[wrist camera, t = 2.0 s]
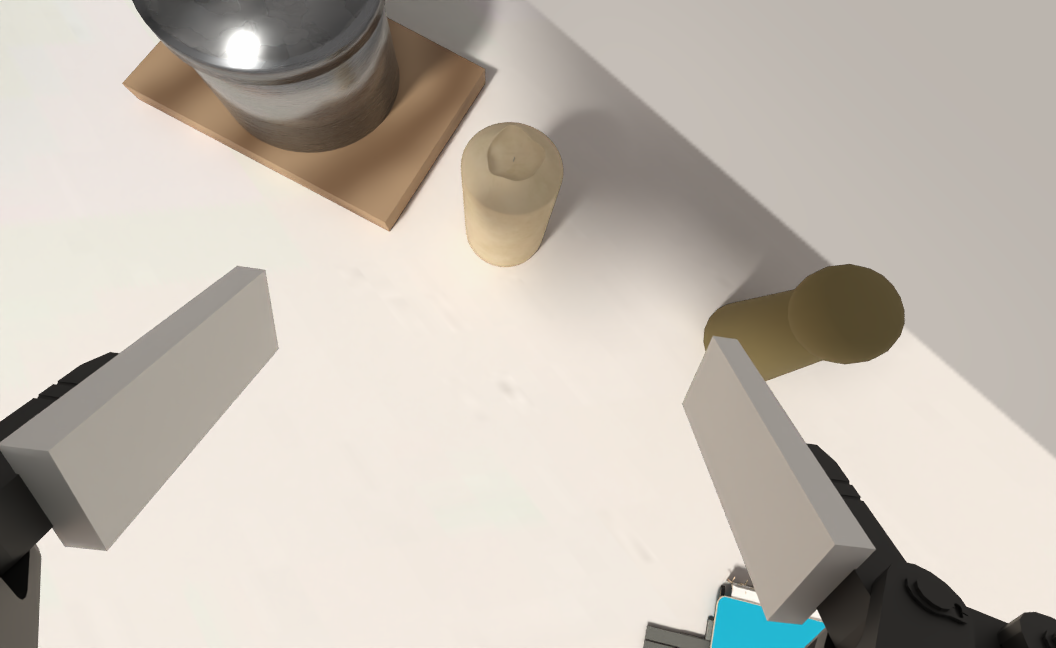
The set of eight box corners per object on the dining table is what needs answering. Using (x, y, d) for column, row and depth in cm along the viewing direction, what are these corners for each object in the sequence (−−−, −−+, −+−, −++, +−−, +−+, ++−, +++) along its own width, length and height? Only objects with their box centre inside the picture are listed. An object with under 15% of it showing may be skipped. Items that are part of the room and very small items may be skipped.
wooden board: (138, 99, 32) (122, 83, 30) (256, -37, 35) (246, -56, 34) (389, 231, 32) (385, 222, 30) (485, 83, 35) (485, 69, 33)
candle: (466, 195, 33) (460, 101, 23) (541, 197, 33) (566, 106, 24) (465, 267, 32) (459, 200, 22) (543, 268, 32) (570, 203, 23)
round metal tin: (175, 101, 30) (69, -8, 23) (285, -28, 33) (225, -165, 26) (342, 190, 30) (294, 111, 23) (438, 52, 33) (425, -60, 25)
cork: (714, 291, 33) (825, 230, 23) (790, 318, 33) (936, 271, 23) (694, 368, 32) (802, 342, 21) (773, 397, 32) (920, 386, 21)
